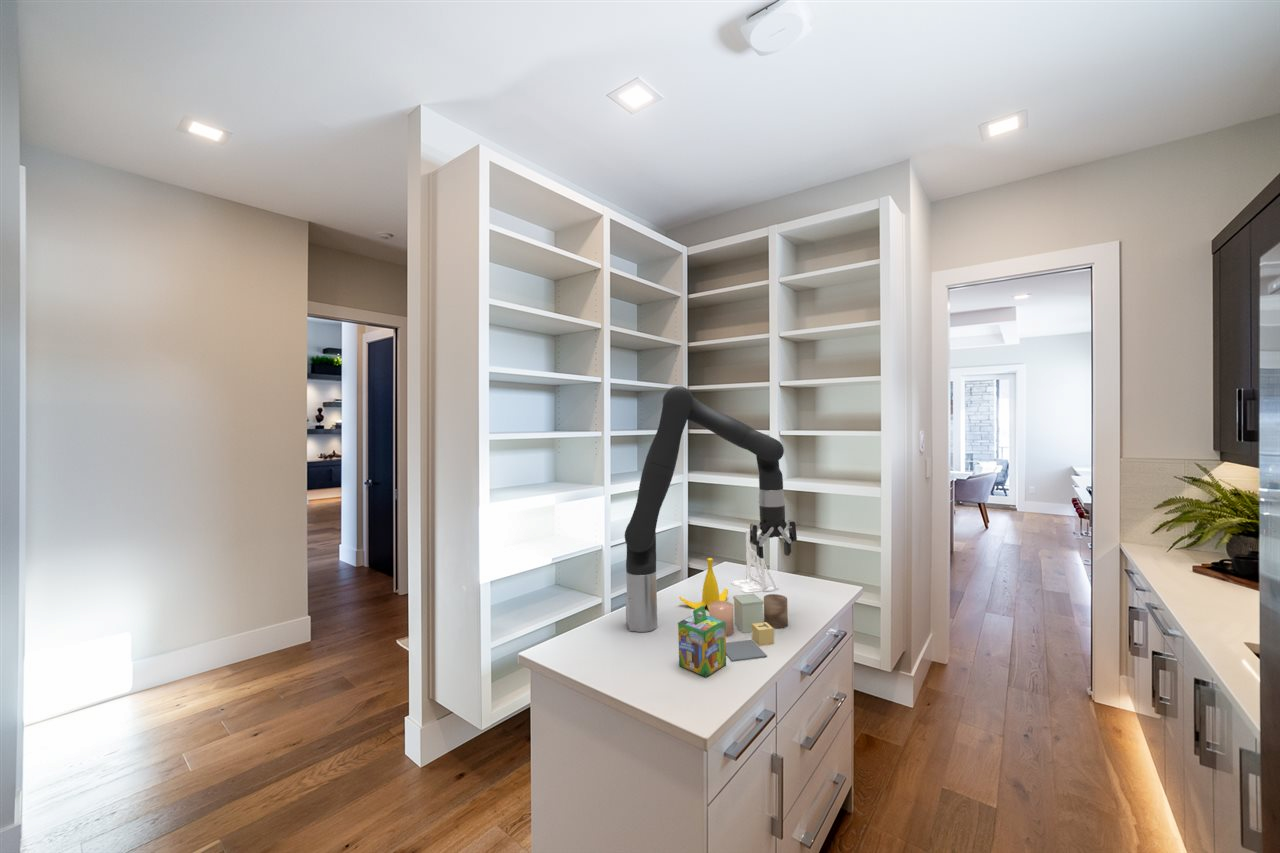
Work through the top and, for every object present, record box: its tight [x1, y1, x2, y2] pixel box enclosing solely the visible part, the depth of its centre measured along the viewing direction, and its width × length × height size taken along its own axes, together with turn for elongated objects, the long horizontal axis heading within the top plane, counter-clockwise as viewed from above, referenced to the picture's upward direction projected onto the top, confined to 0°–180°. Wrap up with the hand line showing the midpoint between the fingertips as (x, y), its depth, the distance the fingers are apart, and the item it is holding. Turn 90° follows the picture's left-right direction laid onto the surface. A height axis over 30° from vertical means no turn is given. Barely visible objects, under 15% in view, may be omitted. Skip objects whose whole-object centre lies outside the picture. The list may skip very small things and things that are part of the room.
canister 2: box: [763, 593, 789, 630], centre depth 158 cm, size 7×7×8 cm
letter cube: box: [751, 621, 775, 647], centre depth 146 cm, size 4×4×5 cm
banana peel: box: [678, 557, 729, 611], centre depth 171 cm, size 16×19×17 cm
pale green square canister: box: [732, 593, 764, 633], centre depth 156 cm, size 7×7×9 cm
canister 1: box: [708, 600, 735, 638], centre depth 153 cm, size 7×7×8 cm
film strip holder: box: [731, 528, 780, 594], centre depth 193 cm, size 14×14×20 cm
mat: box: [726, 639, 768, 662], centre depth 141 cm, size 10×10×1 cm
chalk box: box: [677, 606, 727, 678], centre depth 133 cm, size 9×9×15 cm
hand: (774, 556), depth 157 cm, fingers open, 8 cm apart
